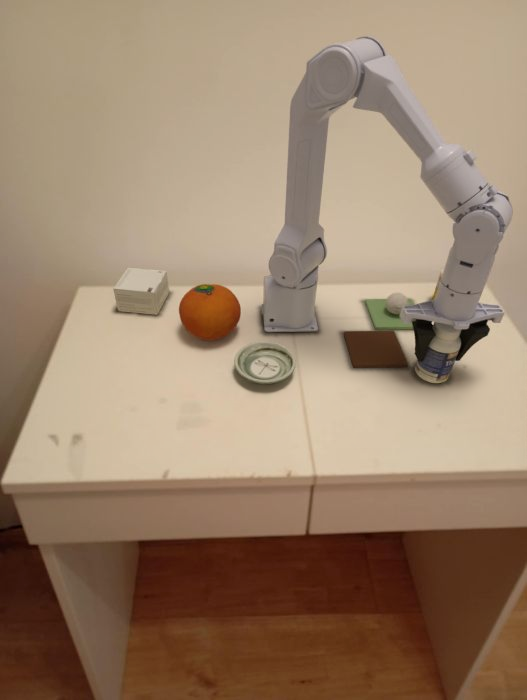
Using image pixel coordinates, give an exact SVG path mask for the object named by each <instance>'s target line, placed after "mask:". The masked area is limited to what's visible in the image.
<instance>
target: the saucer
mask: <svg viewBox="0 0 527 700" xmlns="http://www.w3.org/2000/svg"><path fill="white" fill-rule="evenodd" d="M296 364H297V361H296V358H295V355H294V354H293V352H292V351H291V349H289V348H288V347H286V346H284V345H283V344H280V343H277V342H274V341H268V340H267V341H266V340H260V341H254V342H251V343H248V344H246V345H244V346H243V347H241V348H240V349H239V350H238V351H237V352H236V354H235V356H234V367H235V370H236V371H237V373H238V374H239V375H240V376H241V377H242V378H243V379H245V380H247V381H249V382H252V383H255V384H262V385H271V384H276V383H280V382H282V381H284V380H286V379H287V378H289V377H290V376H291V375H292V374H293V373H294V371H295V368H296Z"/></svg>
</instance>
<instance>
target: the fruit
mask: <svg viewBox="0 0 527 700" xmlns="http://www.w3.org/2000/svg"><path fill="white" fill-rule="evenodd" d="M241 311H242V310H241V304H240V301H239V298H238V297H237V296H236V295H235V293H234V292H233V291H232V290H230V289H229V288H228V287H227V286H224V285H220V284H216V283H214V284H209V283H203V284H198V285H196V286H194V287H191V288H190V290H189V291H187V292H186V293H185V294H184V295H183V296H182V298H181V300H180V302H179V306H178V313H179V318H180V322H181V324H182V326H183V328H184V329H185V330H186V331H187V332H188V333H189V334H190V335H192V336H194V337H196V338H197V339H200V340H203V341H216V340H219V339H221V338H224V337H226V336H228V335H229V334H231V333H232V332H233V331H234V330H235V328H236V327H237V325H238V324H239V322H240V318H241V313H242V312H241Z"/></svg>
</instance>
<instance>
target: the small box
mask: <svg viewBox="0 0 527 700" xmlns="http://www.w3.org/2000/svg"><path fill="white" fill-rule="evenodd" d="M169 286H170V285H169V280H168V272H167V270H161V269H149V268H137V267H127V268H126V270H125V271H124V272H123V274H122V275H121V276H120V278H119V280H118V281H117V283H116V284H115V286H114V287H113V289H112V290H113V293H114V298H115V303H116V308H117V311H118V312H125V313H133V314H142V315H143V314H145V315H155V316H157V315H158V314H159V313H160V311H161V310H162V307H163V305H164V303H165V301H166V300H167V297H168V296H169V294H170V287H169Z"/></svg>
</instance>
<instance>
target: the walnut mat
mask: <svg viewBox="0 0 527 700" xmlns="http://www.w3.org/2000/svg"><path fill="white" fill-rule="evenodd" d="M343 336H344V341H345V343H346V347H347V351H348V354H349V357H350V360H351V364H352V367H353V368H354V369H356V368H359V369H361V368H363V369H364V368H365V369H366V368H408V366H409V362H408V361H407V357H406V355H405V353H404V351H403V348H402V347H401V344H400V342H399V339H398V336H397V335H396V331H395V330H344V331H343Z"/></svg>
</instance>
